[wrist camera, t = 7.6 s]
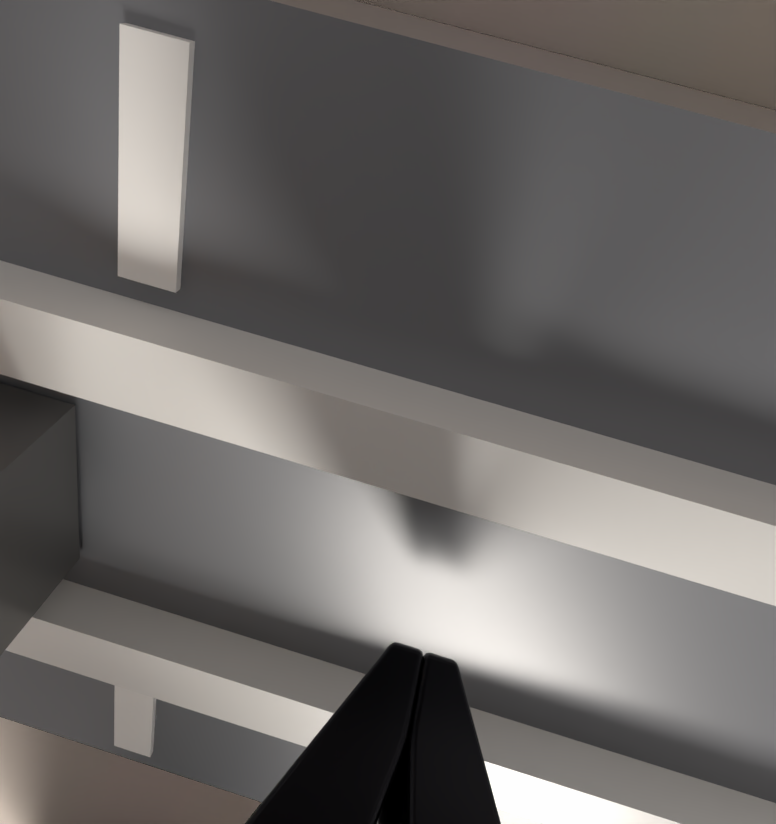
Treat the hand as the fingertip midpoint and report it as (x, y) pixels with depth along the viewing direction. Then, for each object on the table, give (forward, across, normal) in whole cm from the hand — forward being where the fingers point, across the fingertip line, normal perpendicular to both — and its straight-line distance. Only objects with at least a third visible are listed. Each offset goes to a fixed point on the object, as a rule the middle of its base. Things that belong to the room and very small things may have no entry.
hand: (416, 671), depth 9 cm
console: (+3, -1, 0) cm, 3 cm away
